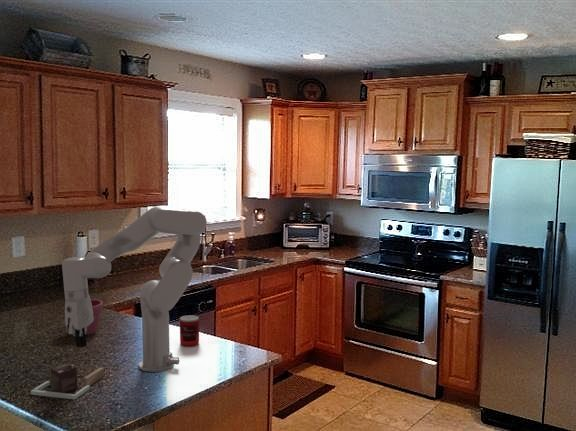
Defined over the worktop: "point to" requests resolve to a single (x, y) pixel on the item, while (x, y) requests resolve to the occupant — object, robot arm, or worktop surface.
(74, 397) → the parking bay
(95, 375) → the channel
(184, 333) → the canned food
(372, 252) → the worktop surface
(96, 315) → the plant pot
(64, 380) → the box
